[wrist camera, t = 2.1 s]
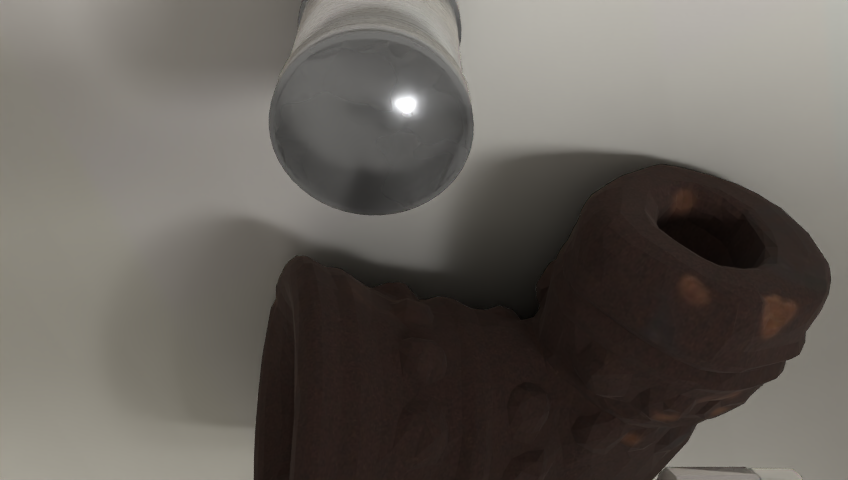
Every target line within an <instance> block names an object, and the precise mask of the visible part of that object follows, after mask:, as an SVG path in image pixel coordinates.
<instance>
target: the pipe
mask: <svg viewBox="0 0 848 480" xmlns="http://www.w3.org/2000/svg"><path fill="white" fill-rule="evenodd" d="M830 283H831V275H830V268H829V264H828V262H827V261H826V259H825V258H824V256H823V255H822V253H821V252H820V250H819V249H818V247H817V246H816V244H815V243H814V241H813V240H812V238H811V237H810V235H809V234H808V232H806V231H805V230H804V229H803V228H802V227H801V226H800V225H799V224H798V223H797V222H796V221H794V220H793V219H792V218H791V217H790V216H789V215H788V214H787V213H786V212H785V211H784V210H782V209H781V208H780V207H778V206H776V205H774V204H773V203H771V202H770V201H768V200H767V199H765V198H763V197H762V196H760V195H759V194H757V193H755V192H752V191H750V190H748V189H746V188H744V187H742V186H740V185H738V184H735V183H732V182H729V181H727V180H724V179H721V178H718V177H715V176H712V175H708V174H704V173H701V172H697V171H693V170H689V169H686V168H682V167H676V166H670V165H664V164H660V165H654V166H651V167H647V168H644V169H641V170H638V171H635V172H632V173H629V174H626V175H623V176H621V177H619V178H617V179H616V180H614V181H612V182H611V183H609V184H607V185H606V186H604V187H603V188H601V189H600V190H598V191H597V192H595V193H594V194H592V195H591V196H590V198H589V199H588V200H587V201H586V203H585V205H584V206H583V208H582V210H581V213H580V216H579V219H578V222H577V223H576V225H575V226H574V228H573V230H572V232H571V234H570V237H569V239H568V240H567V242H566V243H565V244H564V245H563V246H562V248H561V250H560V252H559V253H558V255H557V259H556V260H554V261H552V262H550V263H549V265H548V266H547V268H546V270H545V271H544V273H543V274H542V276H541V278H540V279H539V281H538V282H537V284H536V295H537V300H538V302H539V304H540V305H539V309H538V312H537V313H536V315H535V316H534V317H532V318H528V319H524V320H520V318H519V317H518V316H517V315H516V313H515V312H514V311H513V310H512V309H509V308H506V307H502V306H499V305H498V306H495V307H493V308H490V309H487V310H484V309H474V308H469V307H467V306H465V305H463V304H462V303H460V302H458V301H456V300H455V299H452V298H447V297H433V298H430V299H418V298H417V297H416V295H415V294H414V293H413V292H412V291H411V290H410V289H409V287H408V286H407V285H406V284H404V283H400V282H395V283H392V282H388V283H385V284H382V285H379V286H376V287H373V288H370V287H368V286H366V285H364V284H363V283H361V282H360V281H358V280H357V279H355V278H354V277H352V276H351V275H350V274H348V273H347V272H345V271H344V270H342V269H339V268H334V267H325V266H323V265H321V264H319V263H318V262H316V261H314V260H313V259H311V258H309V257H307V256H295V257H294V258H293V259H291V260H290V261H289V262H288V263H287V264H286V266H285V267H284V269H283V271H282V273H281V275H280V278H279V280H278V283H277V286H276V300H275V302H274V303H273V305H272V307H271V311H270V316H269V322H268V328H267V333H266V339H265V345H264V350H263V356H262V364H261V373H260V382H259V392H258V404H257V416H256V427H255V447H254V480H653V479H654V478H655V476H656V475H657V474H658V473H659V472H660V471H661V470H662V469H663V468H664V467H665V466H666V465H667V463H668V462H669V461H670V460H671V459H672V458H673V457H674V456H675V455H676V453H677V452H678V451H679V450H680V449H681V448H682V447H683V446H684V445H685V444H686V443H687V442H688V440H689V438H690V436H691V435H692V433H693V431H694V429H695V427H696V425H697V424H698V423H700V422H702V421H704V420H707V419H711V418H715V417H717V416H720V415H722V414H724V413H726V412H728V411H730V410H732V409H734V408H736V407H738V406H740V405H742V404H744V403H745V402H746V401H747V399H748V398H749V397H750V396H751V395H752V394H753V393H754V392H755V391H756V390H757V389H759V388H760V387H761V386H762V385H763V384H764V383H766V382H769V381H771V380H774V379H776V378H777V377H778V376H779V375H780V374H781V372H782V371H783V369H784V366H785V363H786V360H790V359H792V358H794V357H796V356H797V355H799V354H800V352H801V350H802V348H803V345H804V343H805V334H806V331H807V329H808V328H809V327H810V325H811V324H812V322H813V321H814V320H815V318H816V317H817V315H818V314H819V313H820V311H821V309H822V307H823V305H824V303H825V301H826V298H827V296H828V294H829V289H830Z"/></svg>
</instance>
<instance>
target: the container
mask: <svg viewBox="0 0 848 480" xmlns="http://www.w3.org/2000/svg"><path fill="white" fill-rule="evenodd" d="M460 42H461V22H460V14H459V6H458V0H303V1H302V4H301V8H300V12H299V18H298V32H297V35H296V38H295V42H294V45H293V48H292V52H291V55H290V57H289V59H288V60H287V61H286V63H285V65H284V67H283V69H282V71H281V73H280V76H279V79H278V82H277V85H276V88H275V91H274V94H273V98H272V101H271V106H270V112H269V131H270V138H271V142H272V145H273V149H274V151H275V153H276V156H277V158H278V160H279V162H280V164H281V165H282V167H283V169H284V170H285V172H286V173H287V174H288V175H289V177H290V178H291V179H292V180H293V181H294V182H295V183H296V184H297V185H298V186H299V187H300V188H301V189H302V190H304V191H305V192H306V193H308V194H309V195H310V196H312V197H313V198H315V199H317V200H318V201H320V202H322V203H324V204H326V205H328V206H331V207H333V208H336V209H339V210H342V211H345V212H350V213H355V214H362V215H386V214H395V213H399V212H403V211H407V210H410V209H413V208H415V207H418V206H420V205H422V204H424V203H426V202H428V201H430V200H431V199H433V198H434V197H436V196H437V195H439V194H440V193H441V192H442V191H444V190H445V189H446V188H447V187H448V186H449V185H450V184H451V183H452V182H453V181H454V179H455V178H456V177H457V175H458V174H459V173H460V171H461V170H462V168H463V166H464V164H465V162H466V160H467V158H468V155H469V152H470V149H471V145H472V140H473V126H474V123H473V114H472V106H471V99H470V93H469V89H468V85H467V82H466V80H465V77H464V75H463V72H462V63H461V55H460Z"/></svg>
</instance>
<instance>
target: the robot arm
mask: <svg viewBox="0 0 848 480" xmlns="http://www.w3.org/2000/svg"><path fill="white" fill-rule="evenodd" d="M657 480H803V479H802V477H801V476H800V475H799V474H798V473H797V472H796V471H795V470H794V469H787V468H749V469H747V468H746V467H666V468H665V469H663V470H662V471H661V472H660V473H659V476H658V478H657Z"/></svg>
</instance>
